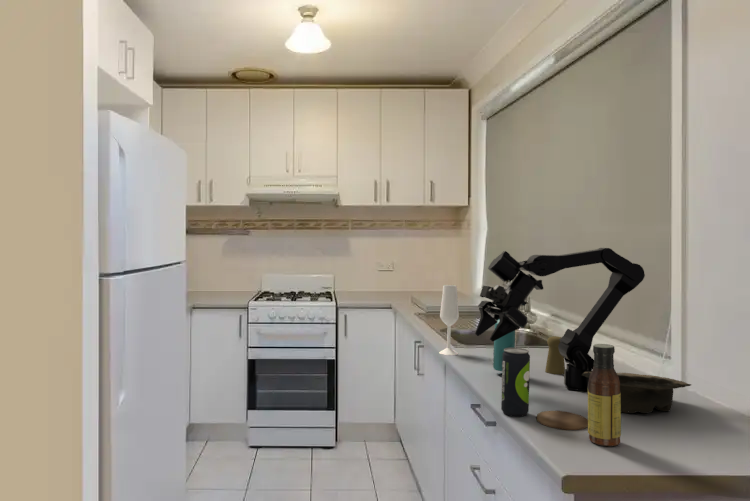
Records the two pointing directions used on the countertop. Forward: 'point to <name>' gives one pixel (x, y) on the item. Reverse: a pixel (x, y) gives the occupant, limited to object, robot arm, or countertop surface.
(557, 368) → the cork
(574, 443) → the countertop surface
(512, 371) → the beverage can
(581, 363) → the robot arm
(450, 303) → the champagne flute
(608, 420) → the sauce bottle
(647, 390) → the stone bowl
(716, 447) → the countertop surface
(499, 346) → the beverage bottle
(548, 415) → the walnut coaster
